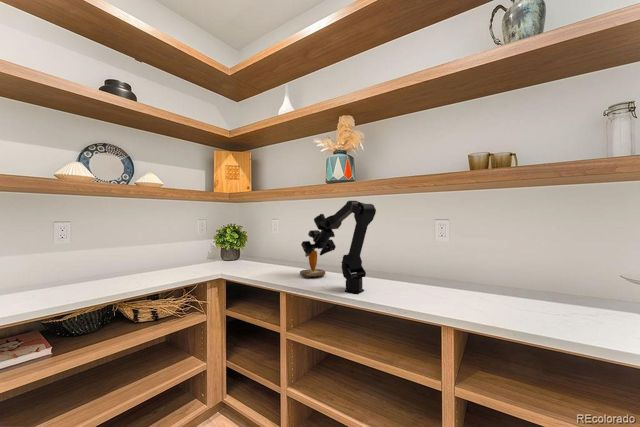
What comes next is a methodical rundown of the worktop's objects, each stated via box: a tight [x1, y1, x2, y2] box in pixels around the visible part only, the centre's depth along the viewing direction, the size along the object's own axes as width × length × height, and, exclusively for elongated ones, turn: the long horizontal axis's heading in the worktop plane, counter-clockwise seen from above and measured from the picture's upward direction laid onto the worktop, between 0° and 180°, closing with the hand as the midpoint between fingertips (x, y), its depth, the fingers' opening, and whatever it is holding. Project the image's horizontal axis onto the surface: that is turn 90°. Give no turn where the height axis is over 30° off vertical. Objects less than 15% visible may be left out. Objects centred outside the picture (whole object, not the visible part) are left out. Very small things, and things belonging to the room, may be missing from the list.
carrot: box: [308, 249, 318, 271], centre depth 147 cm, size 5×5×15 cm
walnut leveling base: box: [299, 268, 326, 279], centre depth 147 cm, size 14×14×3 cm
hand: (313, 255), depth 146 cm, fingers open, 9 cm apart
